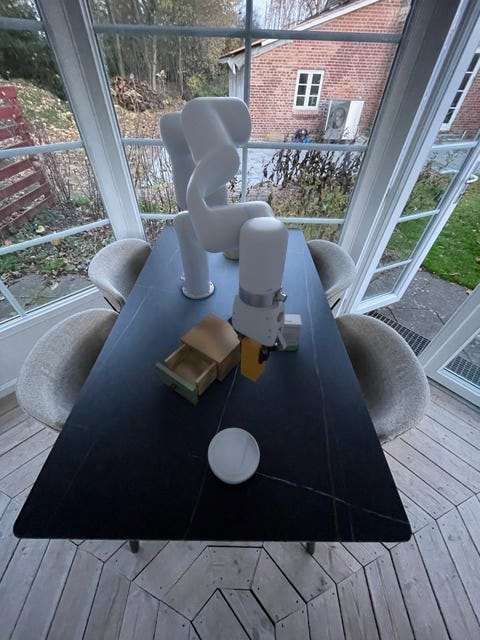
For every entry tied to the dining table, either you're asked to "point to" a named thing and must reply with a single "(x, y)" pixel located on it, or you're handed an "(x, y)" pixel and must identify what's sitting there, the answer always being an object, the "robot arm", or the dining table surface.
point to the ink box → (292, 331)
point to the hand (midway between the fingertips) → (254, 354)
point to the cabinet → (215, 343)
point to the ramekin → (233, 455)
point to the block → (251, 359)
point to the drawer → (188, 372)
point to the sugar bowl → (232, 254)
